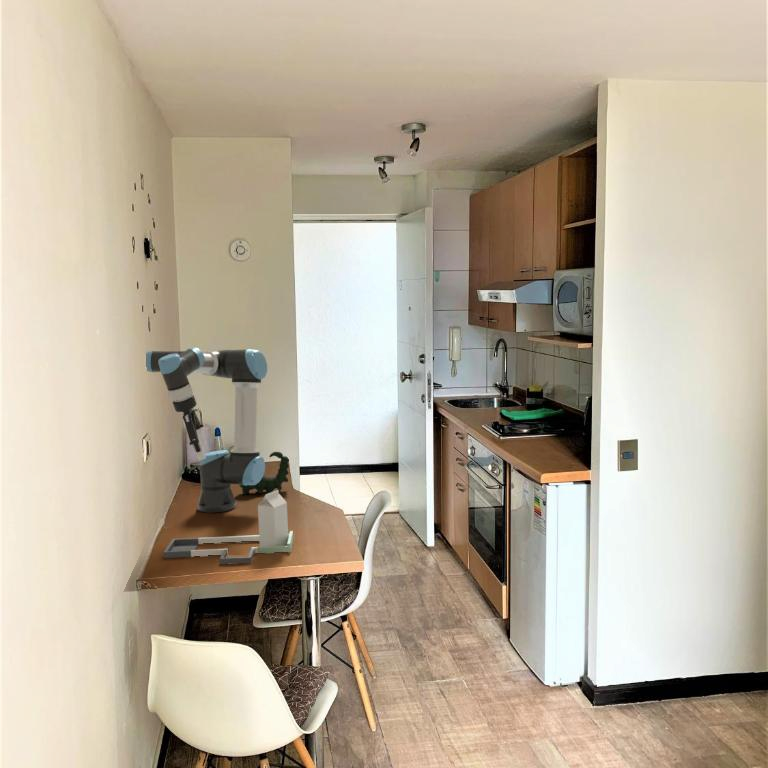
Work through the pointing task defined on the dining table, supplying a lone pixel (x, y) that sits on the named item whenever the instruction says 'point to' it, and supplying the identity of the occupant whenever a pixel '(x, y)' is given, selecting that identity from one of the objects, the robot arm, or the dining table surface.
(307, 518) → the dining table surface
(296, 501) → the dining table surface
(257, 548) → the trap lane
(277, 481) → the toy figurine
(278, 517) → the milk carton
